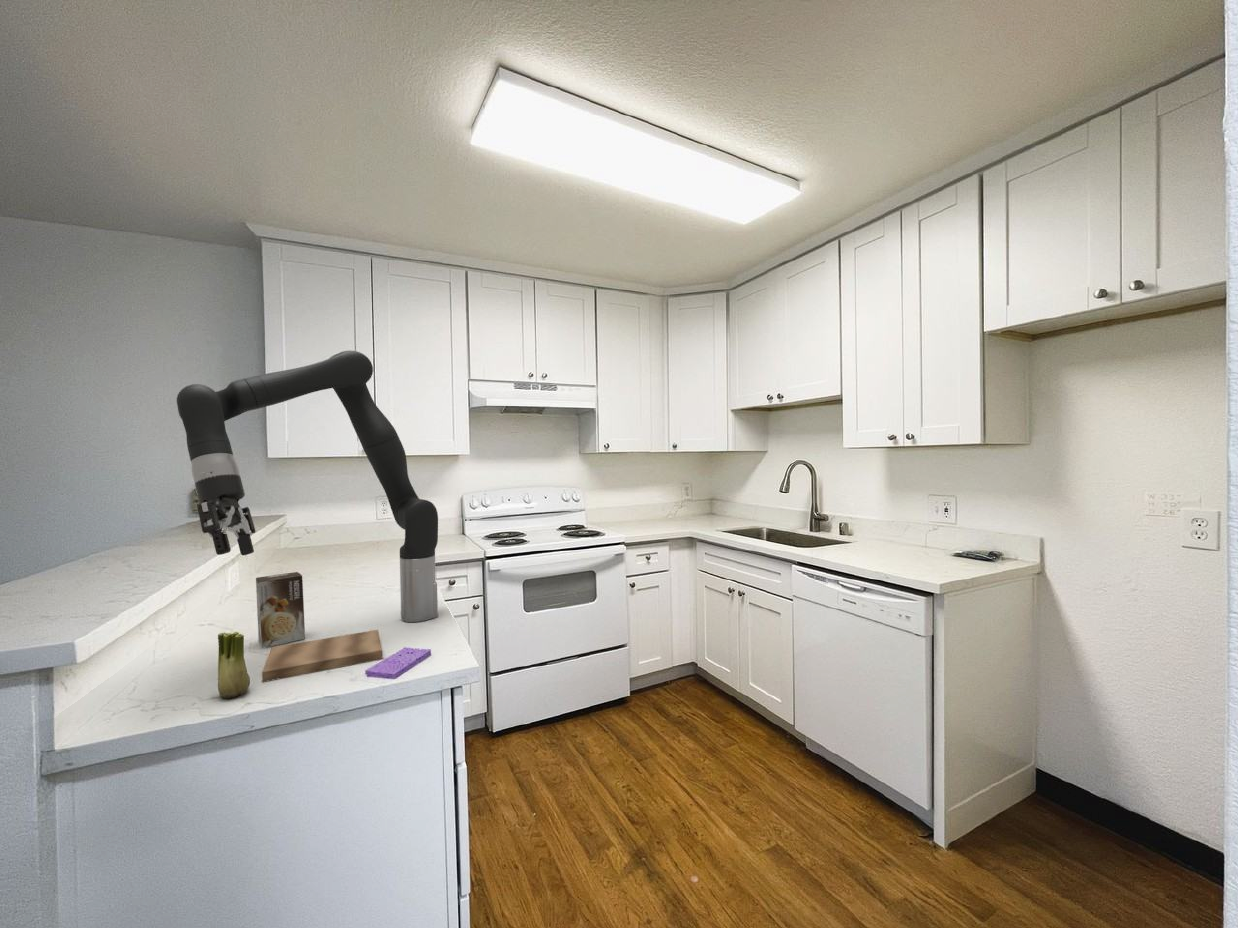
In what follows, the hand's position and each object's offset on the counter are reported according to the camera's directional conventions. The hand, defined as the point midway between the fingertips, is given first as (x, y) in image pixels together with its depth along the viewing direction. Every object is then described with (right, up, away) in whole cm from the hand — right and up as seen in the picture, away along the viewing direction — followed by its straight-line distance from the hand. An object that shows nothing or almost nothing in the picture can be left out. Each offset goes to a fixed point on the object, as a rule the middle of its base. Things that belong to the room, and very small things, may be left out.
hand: (236, 553), depth 101 cm
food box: (-6, -26, +22) cm, 34 cm away
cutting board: (+12, -25, +11) cm, 30 cm away
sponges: (+30, -26, +7) cm, 41 cm away
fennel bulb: (+4, -26, -6) cm, 27 cm away
